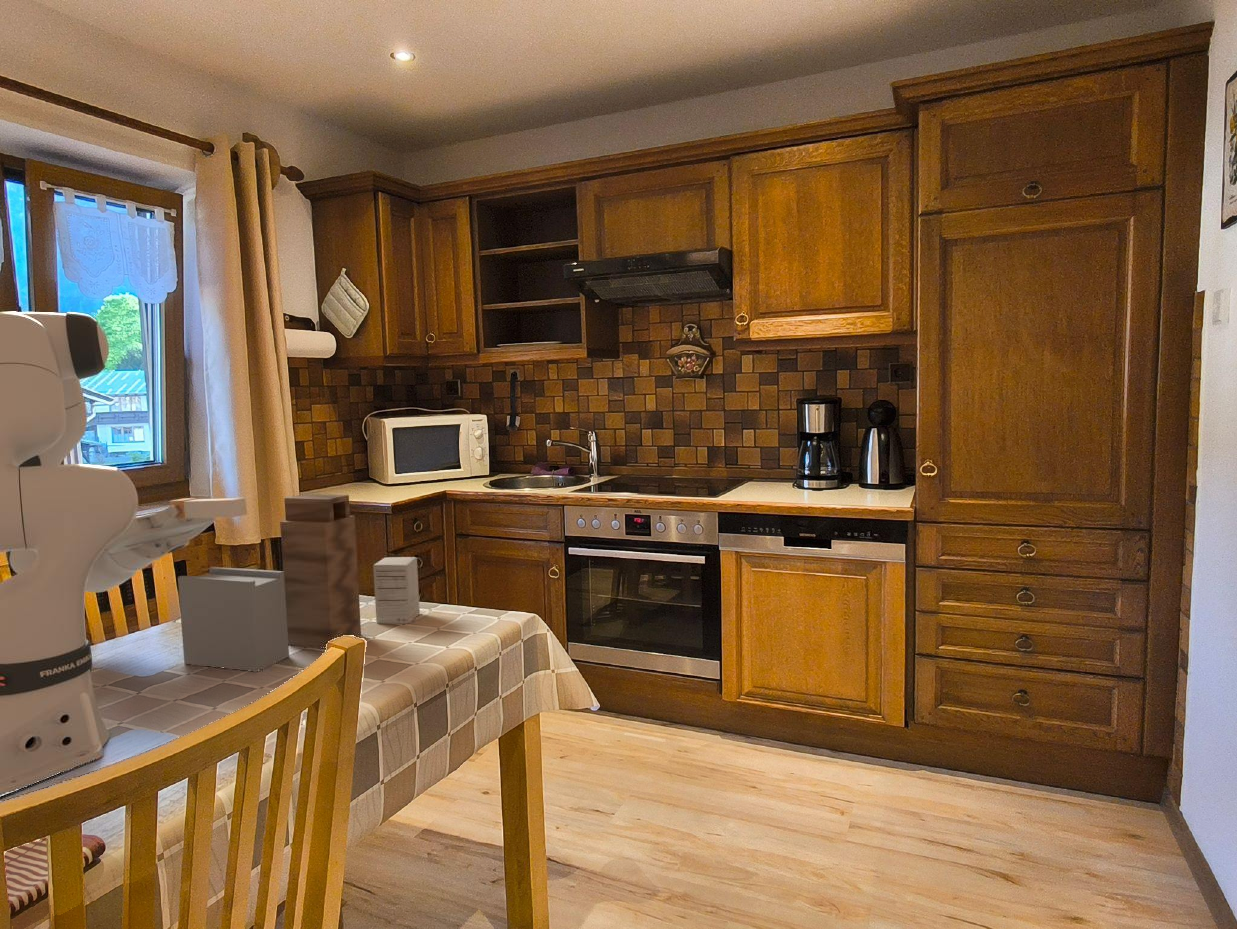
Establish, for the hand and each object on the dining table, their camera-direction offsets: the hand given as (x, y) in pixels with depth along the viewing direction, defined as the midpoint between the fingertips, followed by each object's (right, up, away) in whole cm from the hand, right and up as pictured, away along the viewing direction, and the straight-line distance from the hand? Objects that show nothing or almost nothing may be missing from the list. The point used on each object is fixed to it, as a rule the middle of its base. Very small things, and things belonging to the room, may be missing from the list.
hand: (188, 506), depth 140 cm
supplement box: (+31, -25, +24) cm, 47 cm away
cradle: (+9, -28, 0) cm, 29 cm away
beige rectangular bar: (+5, -2, -1) cm, 5 cm away
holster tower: (+21, -27, +11) cm, 35 cm away
